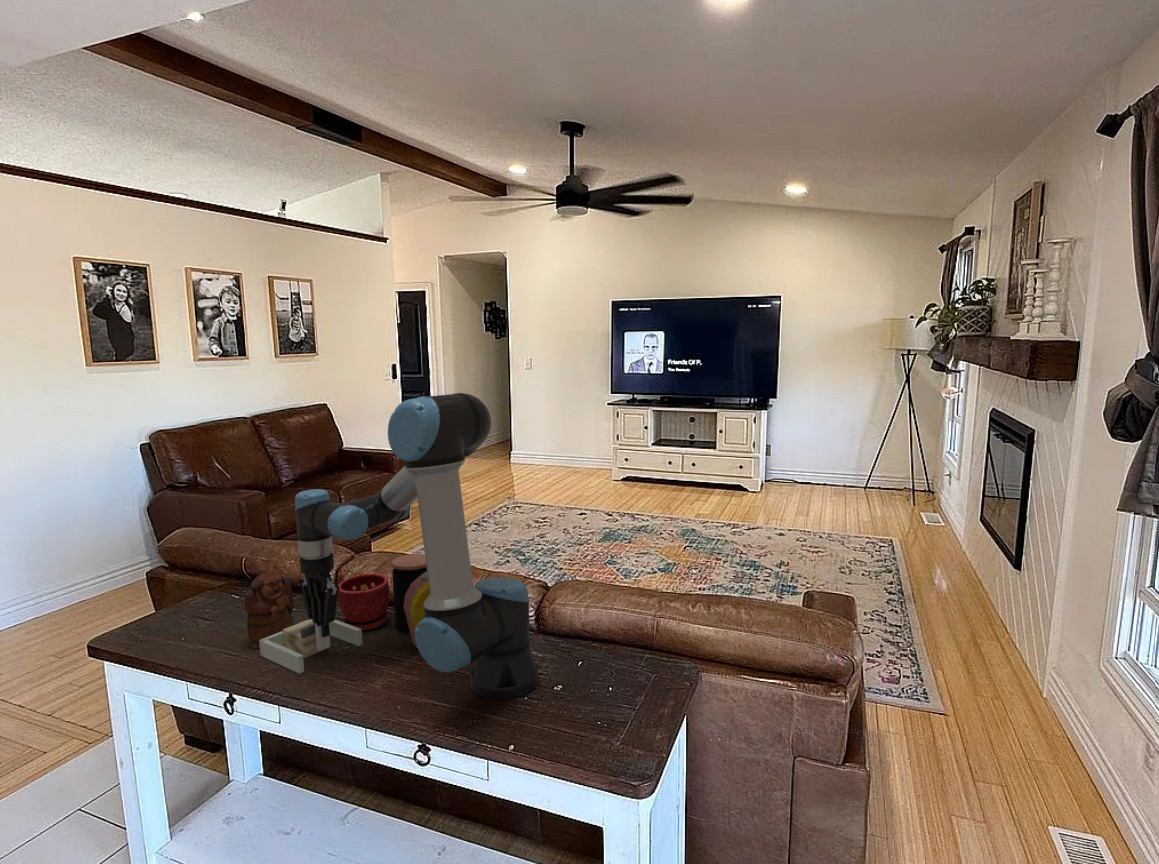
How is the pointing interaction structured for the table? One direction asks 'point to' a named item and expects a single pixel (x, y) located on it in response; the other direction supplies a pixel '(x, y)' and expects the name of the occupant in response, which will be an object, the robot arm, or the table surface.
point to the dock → (293, 660)
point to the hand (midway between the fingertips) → (323, 647)
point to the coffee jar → (405, 583)
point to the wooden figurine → (268, 606)
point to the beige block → (301, 638)
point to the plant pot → (364, 601)
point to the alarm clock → (416, 603)
